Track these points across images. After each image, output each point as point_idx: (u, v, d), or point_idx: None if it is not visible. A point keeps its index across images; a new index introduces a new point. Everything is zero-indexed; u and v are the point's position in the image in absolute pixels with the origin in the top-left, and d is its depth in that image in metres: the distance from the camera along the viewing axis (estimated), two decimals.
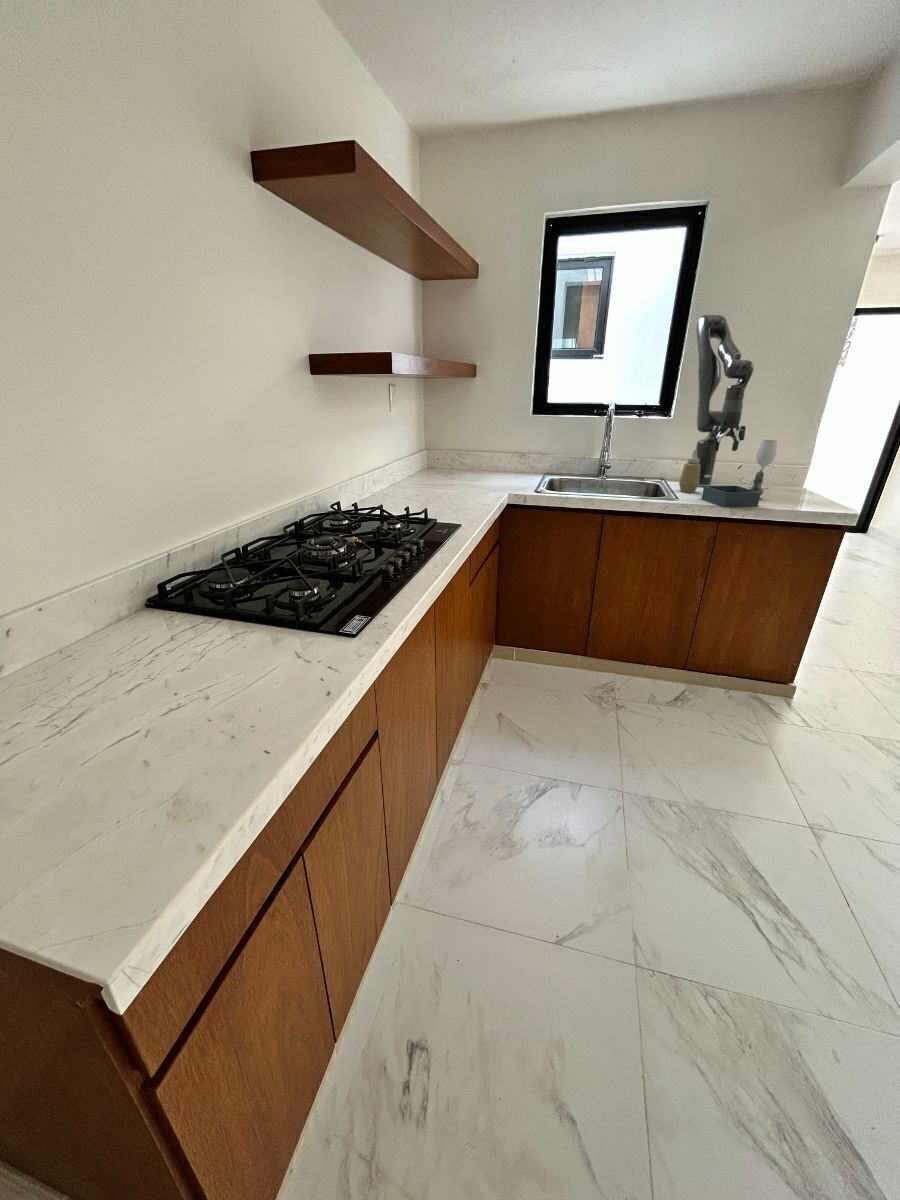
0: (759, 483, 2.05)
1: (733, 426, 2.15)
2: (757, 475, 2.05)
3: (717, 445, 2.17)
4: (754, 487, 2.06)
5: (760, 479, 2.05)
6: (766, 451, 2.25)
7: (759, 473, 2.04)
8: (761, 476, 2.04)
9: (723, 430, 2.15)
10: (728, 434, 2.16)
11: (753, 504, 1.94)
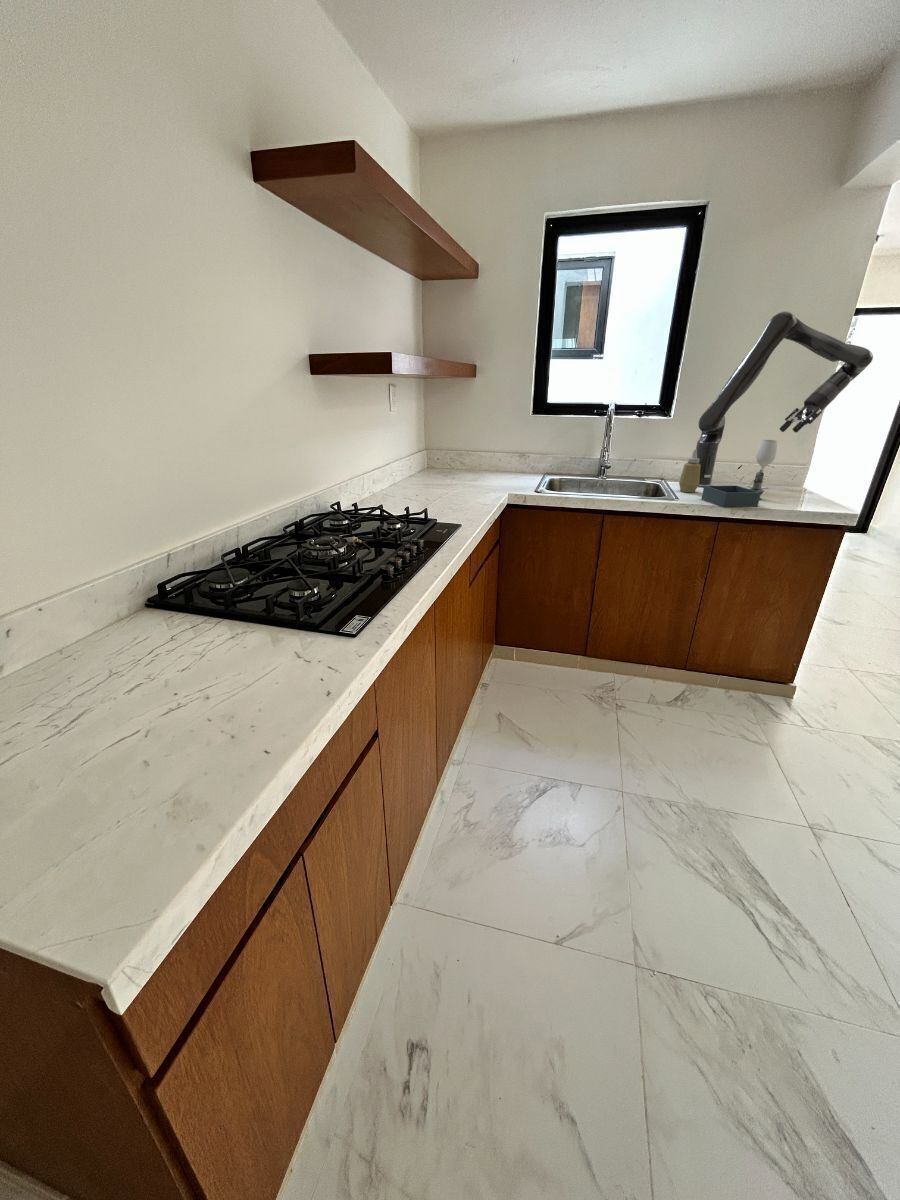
0: (759, 483, 2.05)
1: None
2: (757, 475, 2.05)
3: (801, 427, 1.95)
4: (754, 487, 2.06)
5: (760, 479, 2.05)
6: (766, 451, 2.25)
7: (759, 473, 2.04)
8: (761, 476, 2.04)
9: None
10: None
11: (753, 504, 1.94)
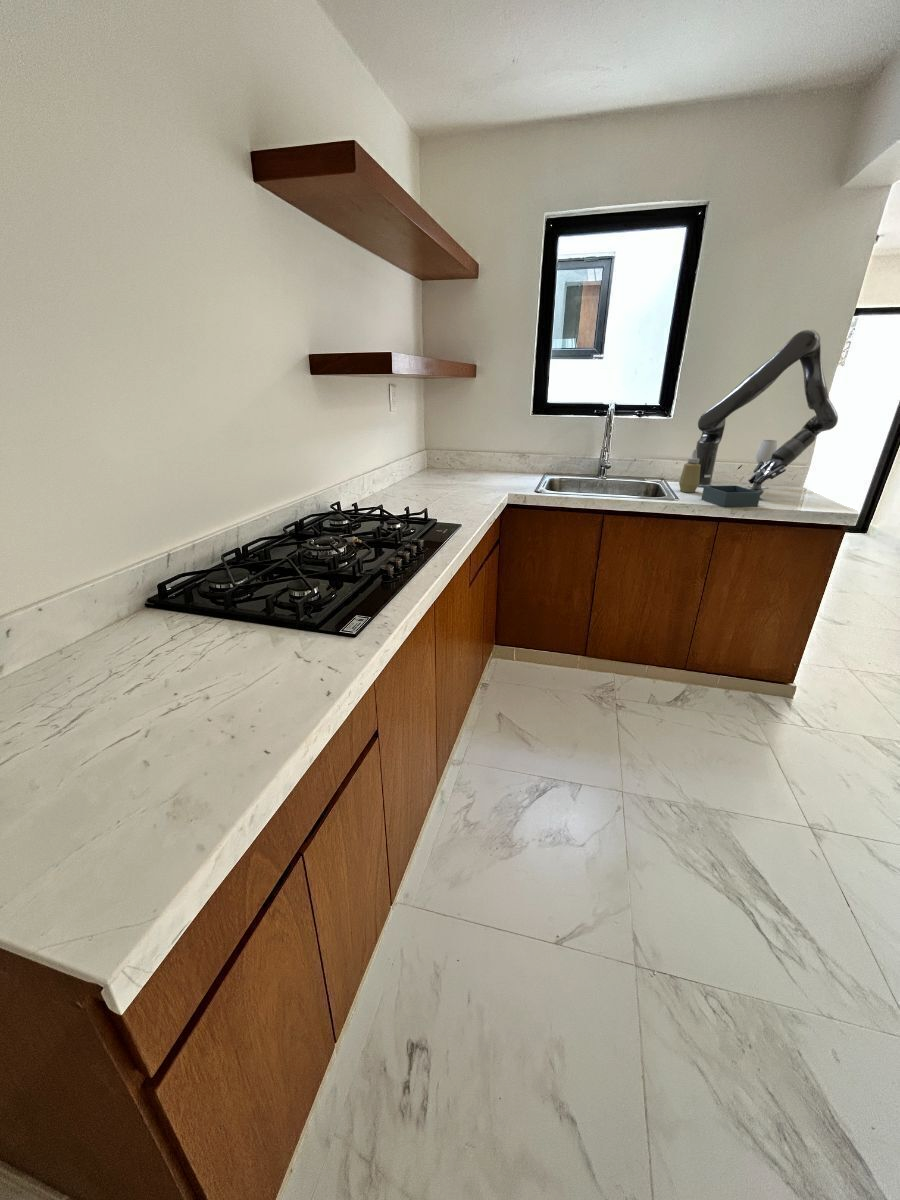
0: None
1: None
2: (757, 475, 2.05)
3: (763, 481, 2.04)
4: (754, 487, 2.06)
5: None
6: (766, 451, 2.25)
7: (759, 473, 2.04)
8: None
9: None
10: None
11: (753, 504, 1.94)
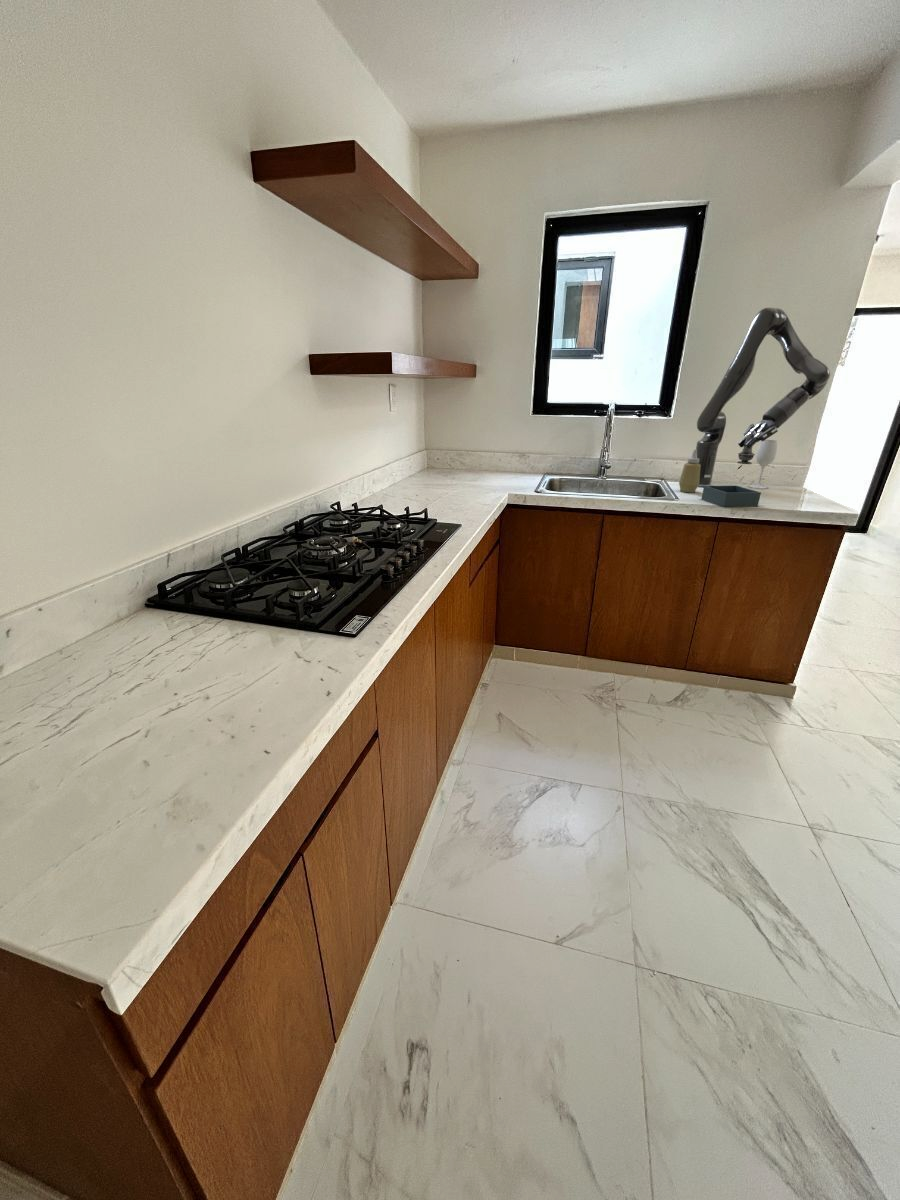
0: None
1: None
2: (747, 437, 1.93)
3: (753, 444, 1.92)
4: (744, 451, 1.94)
5: None
6: (766, 451, 2.25)
7: (749, 435, 1.92)
8: None
9: None
10: None
11: (753, 504, 1.94)
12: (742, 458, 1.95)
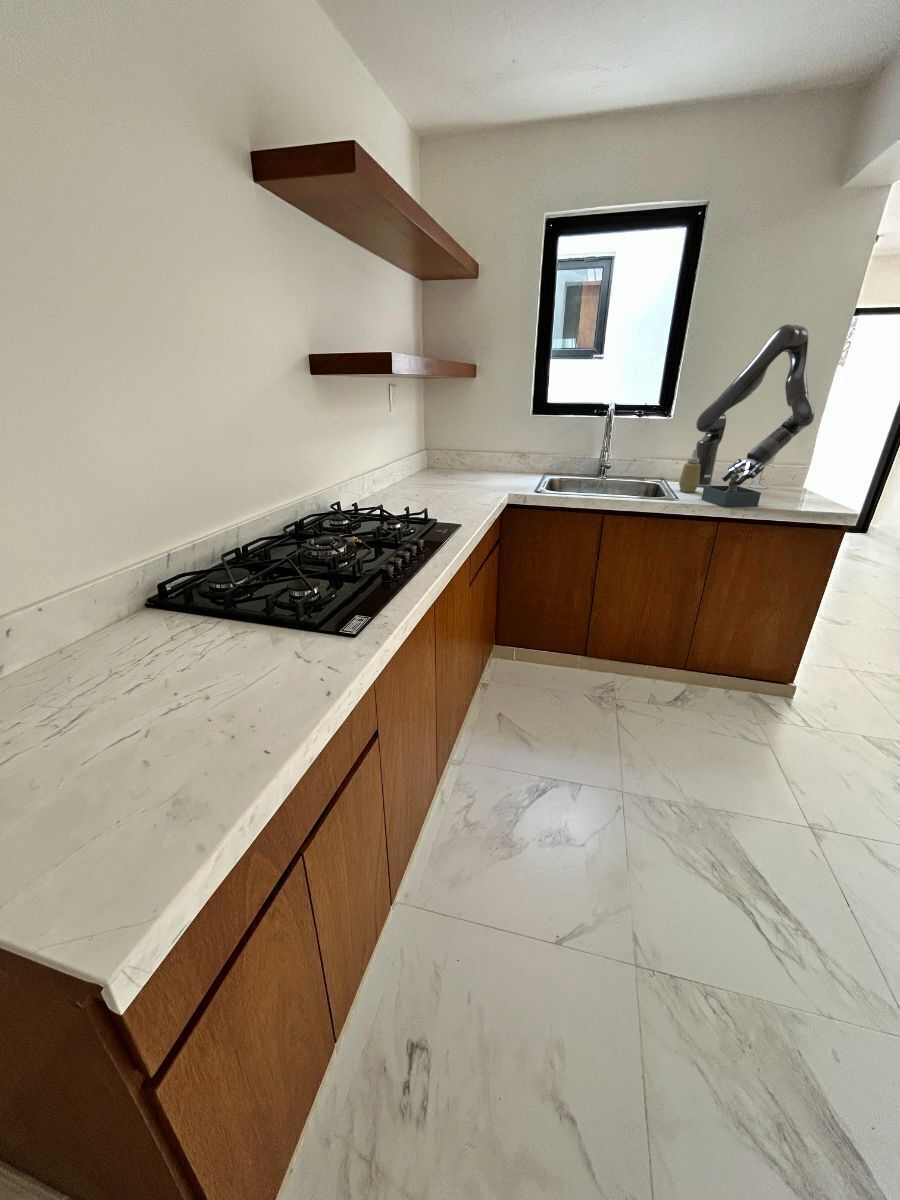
0: (734, 485, 1.97)
1: None
2: (732, 477, 1.97)
3: (743, 481, 1.93)
4: (729, 489, 1.98)
5: None
6: None
7: (734, 475, 1.96)
8: (736, 478, 1.96)
9: None
10: None
11: (753, 504, 1.94)
12: None
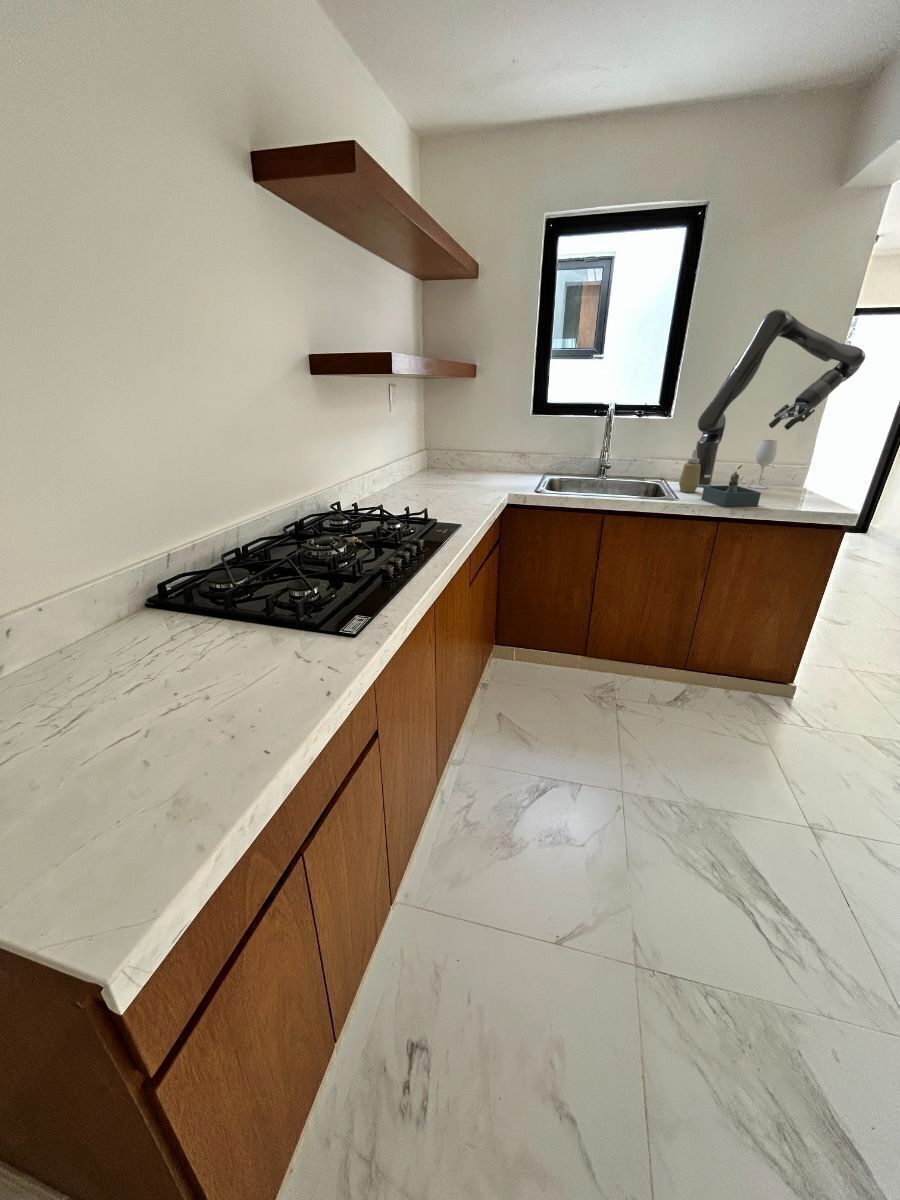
0: (734, 485, 1.97)
1: None
2: (732, 477, 1.97)
3: (792, 425, 1.90)
4: (729, 489, 1.98)
5: (735, 481, 1.96)
6: (766, 451, 2.25)
7: (734, 475, 1.96)
8: (736, 478, 1.96)
9: None
10: None
11: (753, 504, 1.94)
12: None
